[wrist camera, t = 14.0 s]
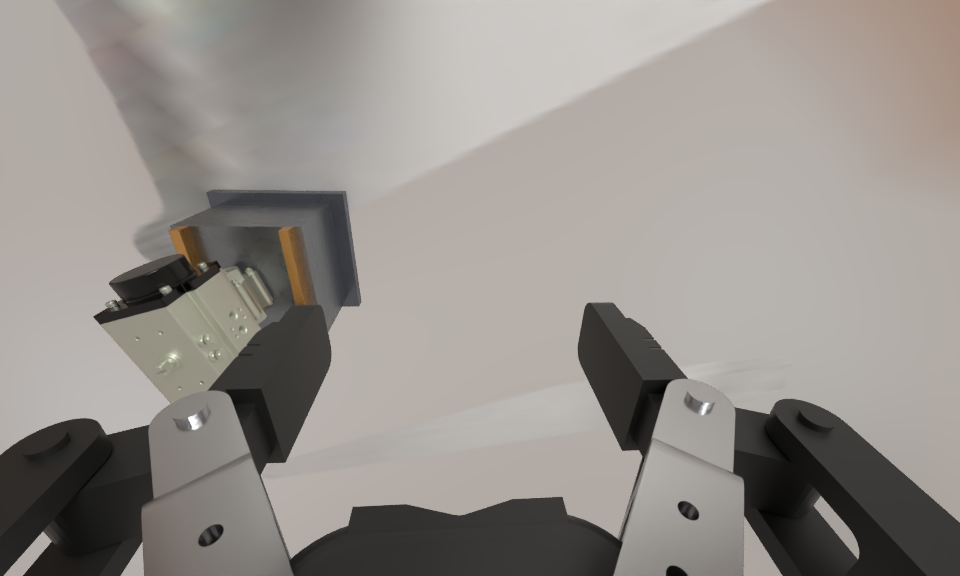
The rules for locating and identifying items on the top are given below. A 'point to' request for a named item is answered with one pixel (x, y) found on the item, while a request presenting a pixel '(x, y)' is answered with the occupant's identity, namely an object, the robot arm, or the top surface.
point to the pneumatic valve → (184, 320)
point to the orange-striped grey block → (279, 245)
